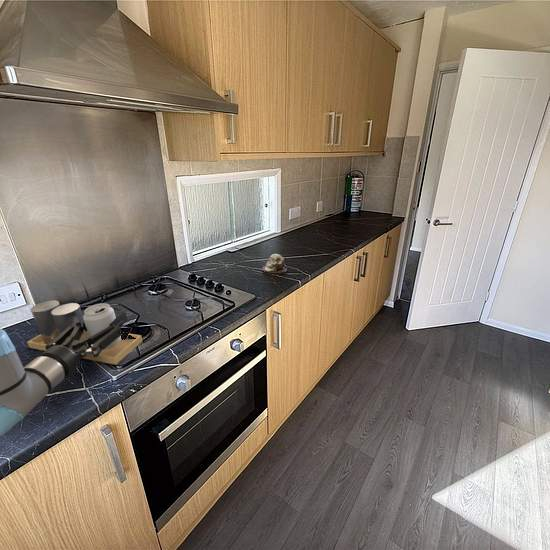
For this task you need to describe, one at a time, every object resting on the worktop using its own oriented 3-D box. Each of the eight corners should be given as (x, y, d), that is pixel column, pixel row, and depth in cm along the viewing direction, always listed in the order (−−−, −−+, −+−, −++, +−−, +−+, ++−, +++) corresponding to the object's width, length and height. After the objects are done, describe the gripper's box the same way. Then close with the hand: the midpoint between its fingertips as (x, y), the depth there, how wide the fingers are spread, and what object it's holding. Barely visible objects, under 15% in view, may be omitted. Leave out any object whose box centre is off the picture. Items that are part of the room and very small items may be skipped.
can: (106, 354, 81) (94, 316, 76) (87, 348, 84) (74, 312, 79) (127, 338, 88) (118, 303, 83) (109, 334, 90) (98, 300, 85)
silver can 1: (38, 343, 91) (24, 310, 86) (59, 331, 97) (47, 299, 92) (56, 347, 89) (42, 313, 84) (76, 334, 95) (64, 301, 90)
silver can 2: (58, 347, 89) (45, 313, 84) (78, 334, 95) (67, 302, 90) (76, 351, 87) (63, 316, 82) (95, 337, 93) (84, 304, 88)
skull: (272, 275, 133) (263, 255, 135) (264, 283, 142) (255, 264, 144) (293, 268, 139) (284, 249, 141) (284, 276, 148) (276, 258, 150)
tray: (29, 348, 89) (26, 342, 88) (63, 328, 99) (60, 322, 98) (116, 366, 81) (113, 358, 80) (143, 342, 91) (141, 335, 90)
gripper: (17, 378, 69) (84, 325, 90) (96, 383, 67) (147, 327, 88) (4, 352, 66) (77, 303, 87) (87, 356, 64) (142, 305, 85)
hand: (112, 315), depth 87 cm, fingers closed on can, 7 cm apart
